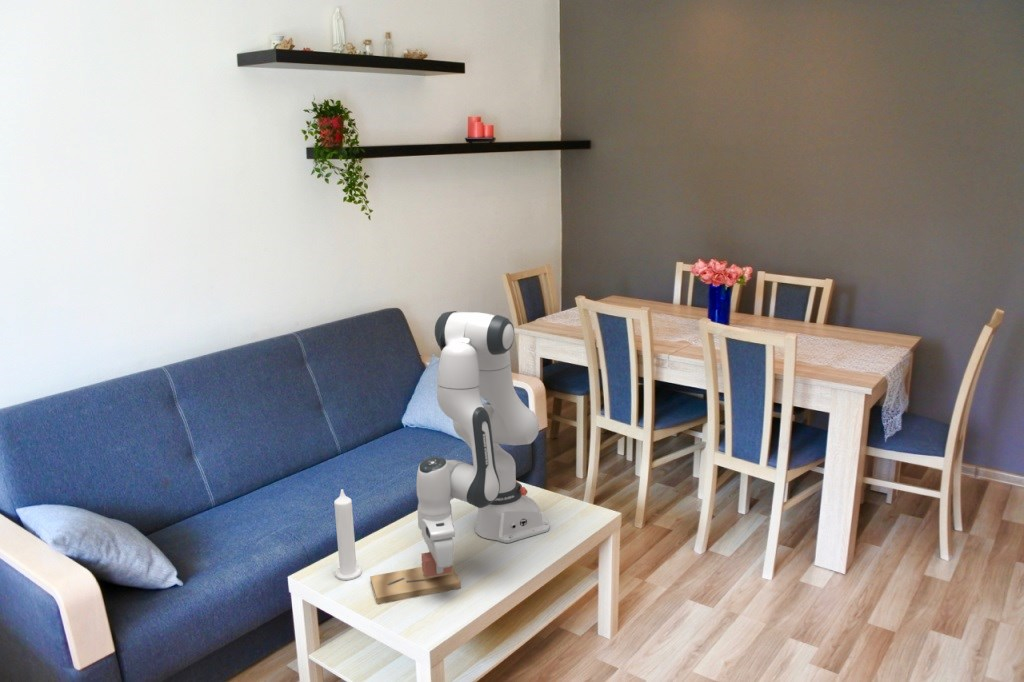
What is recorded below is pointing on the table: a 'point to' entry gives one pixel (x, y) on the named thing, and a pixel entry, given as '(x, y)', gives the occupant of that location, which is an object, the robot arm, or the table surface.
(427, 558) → the block
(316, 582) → the table surface
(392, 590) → the plank
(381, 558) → the table surface
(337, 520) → the candle
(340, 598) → the table surface
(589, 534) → the table surface
